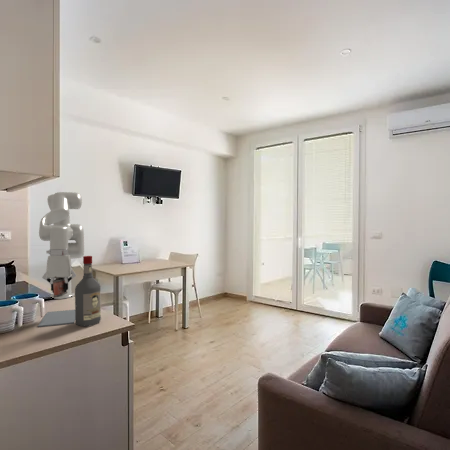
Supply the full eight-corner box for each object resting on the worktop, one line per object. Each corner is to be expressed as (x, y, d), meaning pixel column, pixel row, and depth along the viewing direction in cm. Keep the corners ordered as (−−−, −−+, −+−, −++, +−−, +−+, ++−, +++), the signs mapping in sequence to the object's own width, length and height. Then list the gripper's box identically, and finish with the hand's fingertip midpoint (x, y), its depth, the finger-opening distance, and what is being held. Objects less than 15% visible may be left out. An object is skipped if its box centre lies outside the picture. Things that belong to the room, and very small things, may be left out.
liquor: (72, 324, 139) (71, 256, 138) (90, 318, 147) (89, 254, 146) (86, 327, 135) (85, 258, 134) (103, 321, 143) (103, 255, 142)
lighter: (62, 292, 151) (61, 272, 151) (69, 292, 150) (67, 272, 150) (51, 297, 143) (50, 275, 143) (58, 297, 142) (57, 275, 142)
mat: (47, 313, 154) (47, 311, 154) (78, 310, 159) (78, 309, 159) (38, 327, 135) (38, 325, 135) (73, 323, 140) (73, 322, 140)
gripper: (36, 254, 140) (37, 295, 140) (78, 253, 145) (78, 292, 146) (40, 252, 147) (41, 291, 147) (79, 251, 152) (80, 288, 153)
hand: (59, 291), depth 146 cm, fingers closed on lighter, 4 cm apart
